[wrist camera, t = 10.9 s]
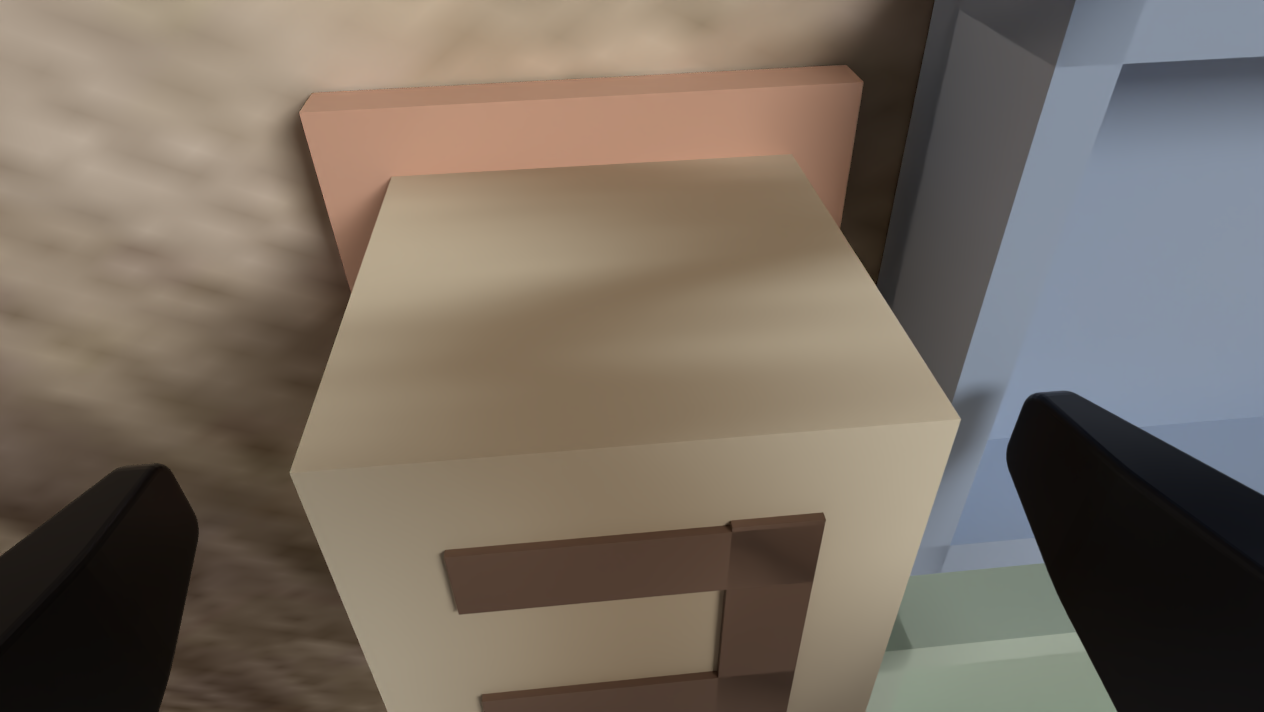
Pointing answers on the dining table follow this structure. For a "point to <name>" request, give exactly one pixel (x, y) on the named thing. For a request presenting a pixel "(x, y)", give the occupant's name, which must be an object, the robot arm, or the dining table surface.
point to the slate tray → (1082, 238)
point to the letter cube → (621, 444)
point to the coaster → (574, 131)
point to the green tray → (986, 648)
